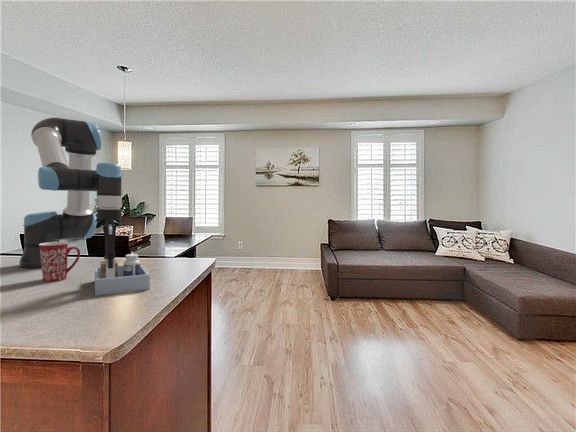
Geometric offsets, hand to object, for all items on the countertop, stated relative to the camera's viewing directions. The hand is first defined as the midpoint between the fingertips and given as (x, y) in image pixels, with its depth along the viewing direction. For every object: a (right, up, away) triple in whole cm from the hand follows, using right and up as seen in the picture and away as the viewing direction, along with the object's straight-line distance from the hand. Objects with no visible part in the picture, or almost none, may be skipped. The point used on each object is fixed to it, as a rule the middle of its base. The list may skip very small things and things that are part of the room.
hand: (110, 275), depth 116 cm
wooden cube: (0, 0, 0) cm, 1 cm away
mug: (-23, -3, +9) cm, 25 cm away
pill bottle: (+6, -3, +4) cm, 8 cm away
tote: (+3, -4, +2) cm, 5 cm away
